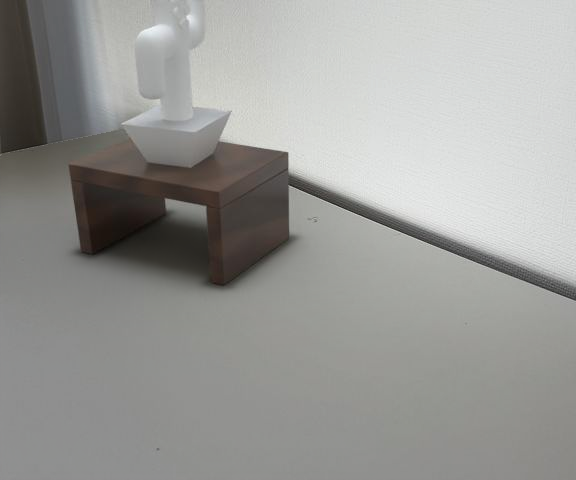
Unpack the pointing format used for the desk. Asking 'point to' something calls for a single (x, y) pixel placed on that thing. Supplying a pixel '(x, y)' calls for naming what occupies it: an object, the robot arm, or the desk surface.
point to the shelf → (187, 199)
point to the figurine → (173, 89)
